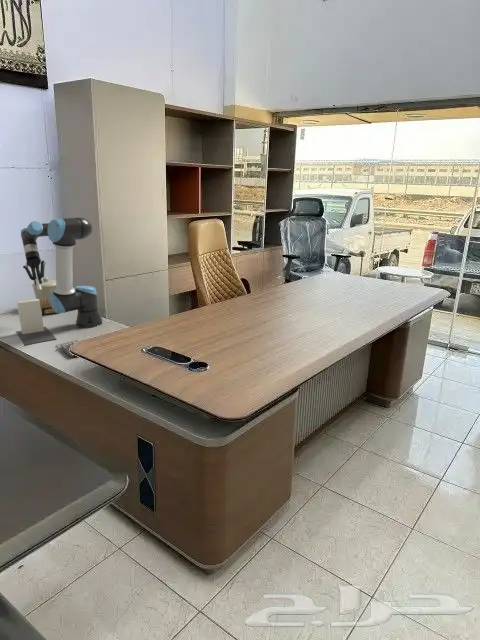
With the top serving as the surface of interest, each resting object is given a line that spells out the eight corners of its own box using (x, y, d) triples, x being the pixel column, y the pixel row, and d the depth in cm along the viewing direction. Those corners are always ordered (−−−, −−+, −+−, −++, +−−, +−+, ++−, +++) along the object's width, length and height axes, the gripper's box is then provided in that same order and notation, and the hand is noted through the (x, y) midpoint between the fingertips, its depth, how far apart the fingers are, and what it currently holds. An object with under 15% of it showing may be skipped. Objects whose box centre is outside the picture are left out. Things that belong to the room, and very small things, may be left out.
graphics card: (54, 344, 222) (77, 339, 229) (55, 351, 223) (78, 345, 230) (64, 355, 209) (89, 348, 216) (65, 362, 210) (90, 355, 217)
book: (21, 332, 247) (16, 301, 241) (42, 329, 253) (38, 298, 248) (22, 334, 244) (18, 303, 239) (44, 330, 250) (39, 300, 245)
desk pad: (15, 332, 249) (15, 331, 249) (45, 327, 258) (45, 326, 258) (24, 345, 229) (24, 344, 228) (56, 339, 237) (56, 338, 237)
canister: (54, 302, 312) (51, 273, 305) (68, 306, 301) (65, 276, 294) (29, 307, 298) (25, 277, 292) (43, 312, 287) (39, 281, 281)
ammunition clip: (59, 312, 287) (57, 295, 283) (60, 313, 285) (57, 295, 282) (41, 315, 281) (39, 297, 278) (42, 316, 280) (39, 297, 276)
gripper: (45, 252, 266) (53, 288, 262) (24, 258, 266) (31, 294, 261) (39, 247, 259) (47, 284, 254) (18, 254, 258) (25, 290, 254)
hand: (39, 289), depth 258 cm, fingers closed
